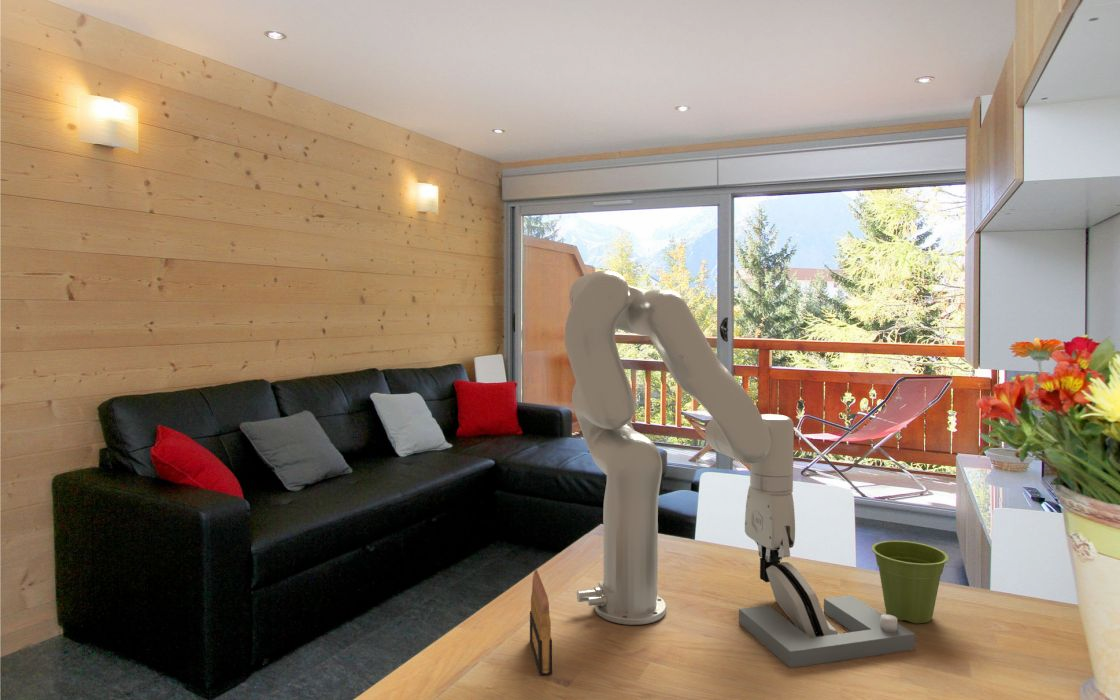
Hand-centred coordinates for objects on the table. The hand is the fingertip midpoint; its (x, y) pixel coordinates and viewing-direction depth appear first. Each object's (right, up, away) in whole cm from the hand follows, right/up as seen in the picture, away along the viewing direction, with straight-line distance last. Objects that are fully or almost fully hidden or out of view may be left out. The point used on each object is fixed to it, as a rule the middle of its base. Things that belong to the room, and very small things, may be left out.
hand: (769, 579), depth 125 cm
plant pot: (+22, -4, -8) cm, 23 cm away
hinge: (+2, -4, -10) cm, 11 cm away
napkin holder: (-42, -5, -22) cm, 48 cm away
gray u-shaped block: (+4, -4, -15) cm, 16 cm away
